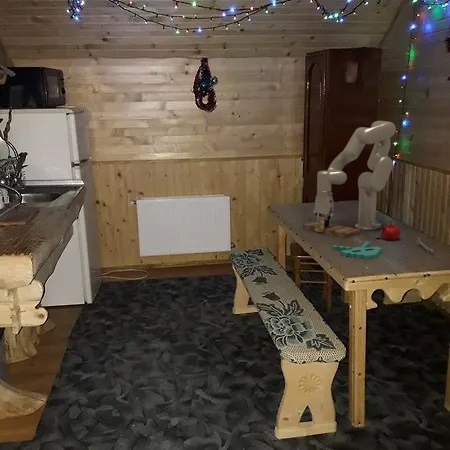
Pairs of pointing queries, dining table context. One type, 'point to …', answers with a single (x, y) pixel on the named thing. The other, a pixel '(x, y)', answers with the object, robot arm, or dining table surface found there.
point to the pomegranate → (390, 232)
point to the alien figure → (360, 251)
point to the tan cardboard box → (321, 223)
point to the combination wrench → (424, 246)
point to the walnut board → (334, 230)
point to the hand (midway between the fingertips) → (323, 225)
